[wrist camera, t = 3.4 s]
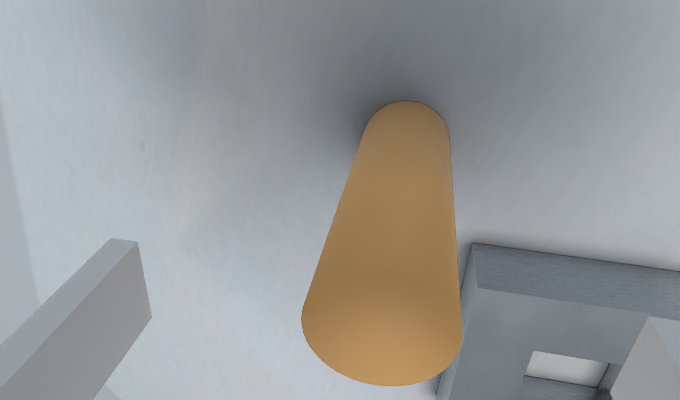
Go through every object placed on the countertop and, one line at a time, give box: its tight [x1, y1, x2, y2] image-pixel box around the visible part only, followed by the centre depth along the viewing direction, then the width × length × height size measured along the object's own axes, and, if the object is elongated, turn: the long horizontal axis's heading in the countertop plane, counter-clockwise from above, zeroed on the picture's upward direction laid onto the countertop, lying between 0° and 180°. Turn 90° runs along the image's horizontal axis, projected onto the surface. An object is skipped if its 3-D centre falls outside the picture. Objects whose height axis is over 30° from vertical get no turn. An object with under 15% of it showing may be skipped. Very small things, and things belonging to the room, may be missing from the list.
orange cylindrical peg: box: [301, 101, 462, 386], centre depth 17 cm, size 4×4×12 cm
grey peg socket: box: [436, 243, 680, 400], centre depth 25 cm, size 12×12×4 cm
